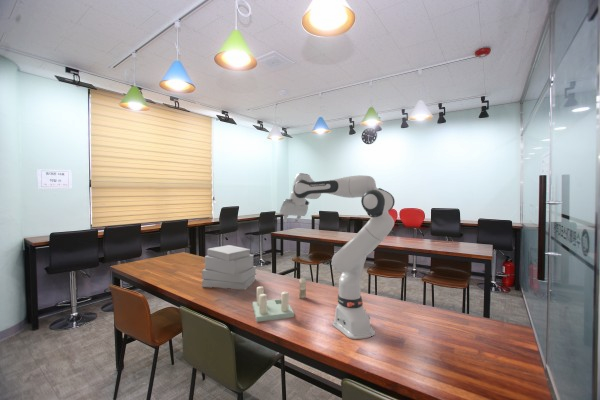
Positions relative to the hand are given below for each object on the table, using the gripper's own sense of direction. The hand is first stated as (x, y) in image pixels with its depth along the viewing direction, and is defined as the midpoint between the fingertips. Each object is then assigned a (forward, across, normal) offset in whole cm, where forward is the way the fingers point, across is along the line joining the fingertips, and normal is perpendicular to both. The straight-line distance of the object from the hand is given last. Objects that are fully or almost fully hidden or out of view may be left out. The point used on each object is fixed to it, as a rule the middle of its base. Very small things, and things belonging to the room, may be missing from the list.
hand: (290, 222), depth 158 cm
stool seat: (+49, -9, -11) cm, 51 cm away
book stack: (+63, +3, +45) cm, 78 cm away
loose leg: (+47, +17, -11) cm, 51 cm away
